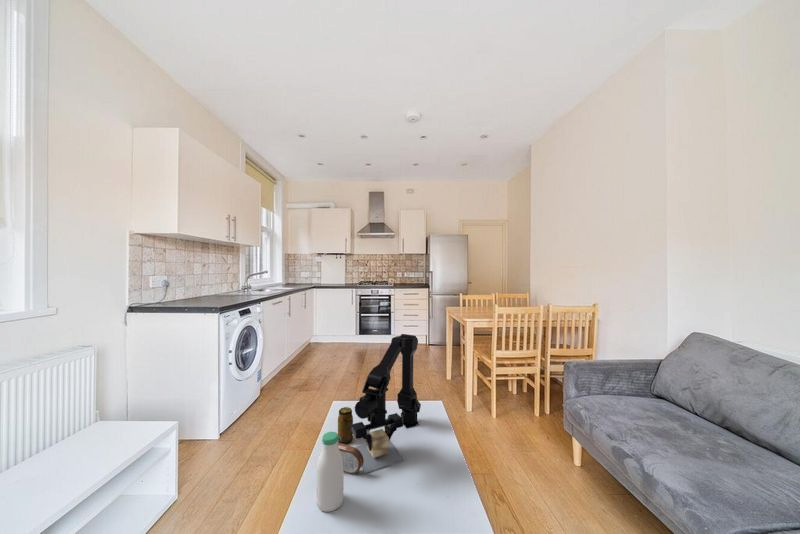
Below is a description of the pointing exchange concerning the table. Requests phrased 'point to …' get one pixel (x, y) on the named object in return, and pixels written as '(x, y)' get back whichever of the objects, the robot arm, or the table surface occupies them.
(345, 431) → the condiment
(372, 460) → the slate mat
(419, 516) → the table surface
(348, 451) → the tin
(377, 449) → the oak cube
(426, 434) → the table surface
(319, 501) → the milk bottle
